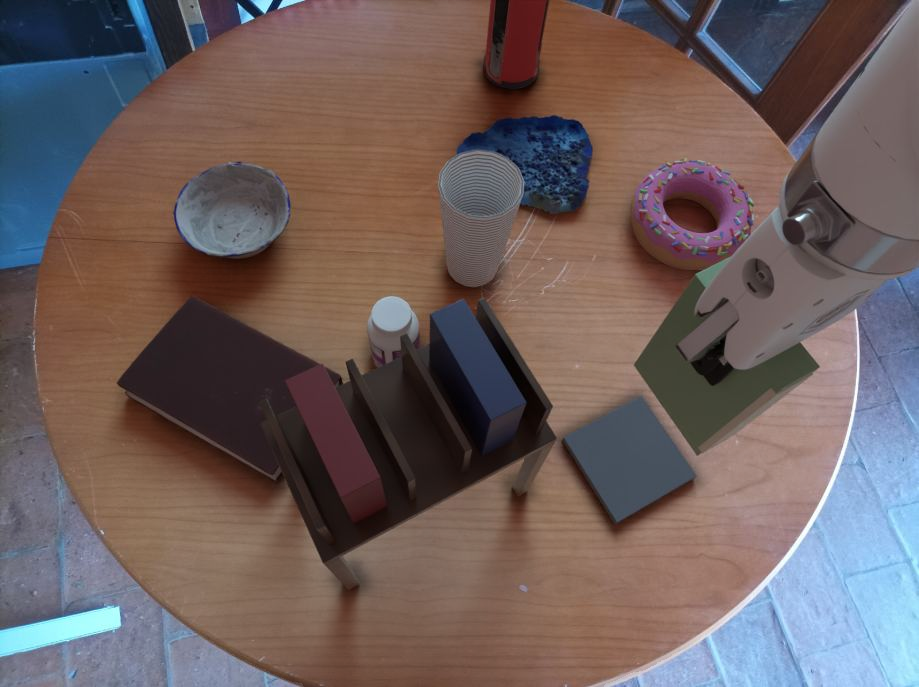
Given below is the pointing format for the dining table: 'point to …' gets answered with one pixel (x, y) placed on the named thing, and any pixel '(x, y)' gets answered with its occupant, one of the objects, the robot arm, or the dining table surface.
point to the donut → (703, 188)
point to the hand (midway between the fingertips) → (723, 354)
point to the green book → (725, 404)
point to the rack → (405, 445)
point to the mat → (628, 459)
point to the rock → (542, 158)
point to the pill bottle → (391, 329)
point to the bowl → (232, 210)
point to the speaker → (514, 42)
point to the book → (217, 381)
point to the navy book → (474, 377)
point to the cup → (478, 213)
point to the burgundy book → (338, 442)
